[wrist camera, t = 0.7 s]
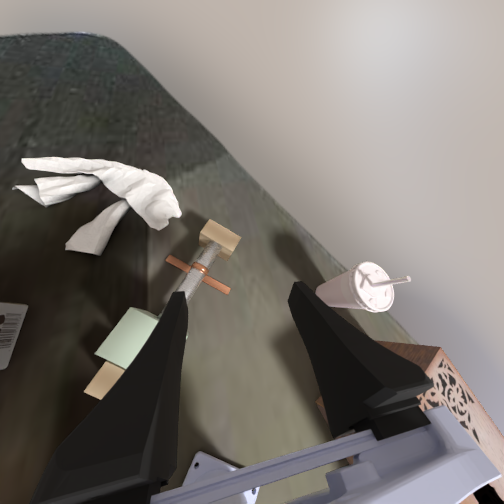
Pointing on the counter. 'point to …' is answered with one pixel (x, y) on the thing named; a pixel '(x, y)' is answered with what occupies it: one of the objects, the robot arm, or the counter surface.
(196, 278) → the pipe
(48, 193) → the cloth
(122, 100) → the counter surface
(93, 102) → the counter surface
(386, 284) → the smoothie
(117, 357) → the collar
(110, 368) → the pipe supports
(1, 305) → the printed cardboard box
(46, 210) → the counter surface
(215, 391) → the counter surface
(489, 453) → the tissue box cover
